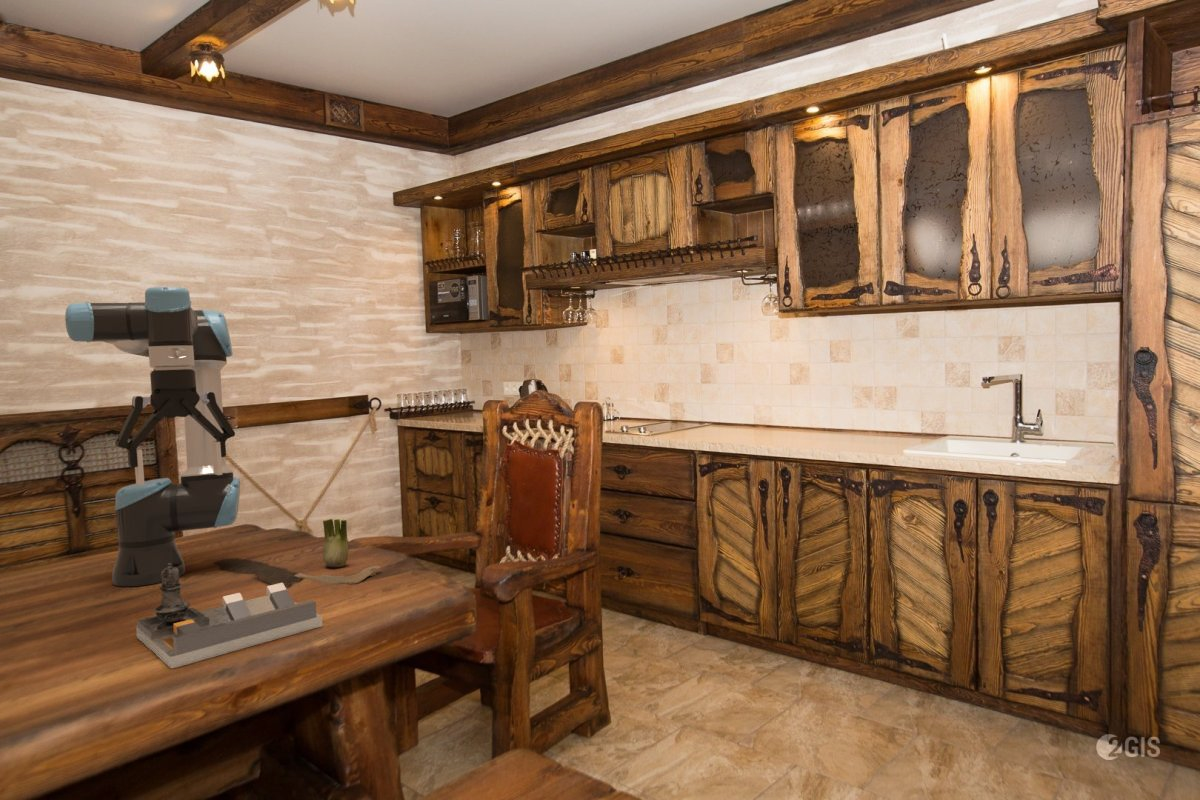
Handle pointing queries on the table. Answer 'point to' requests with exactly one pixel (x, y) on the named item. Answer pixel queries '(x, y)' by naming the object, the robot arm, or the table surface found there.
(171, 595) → the stone stupa figurine
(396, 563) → the table surface
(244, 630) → the panel
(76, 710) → the table surface
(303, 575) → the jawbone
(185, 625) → the block
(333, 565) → the fennel bulb
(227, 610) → the block
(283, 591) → the block
